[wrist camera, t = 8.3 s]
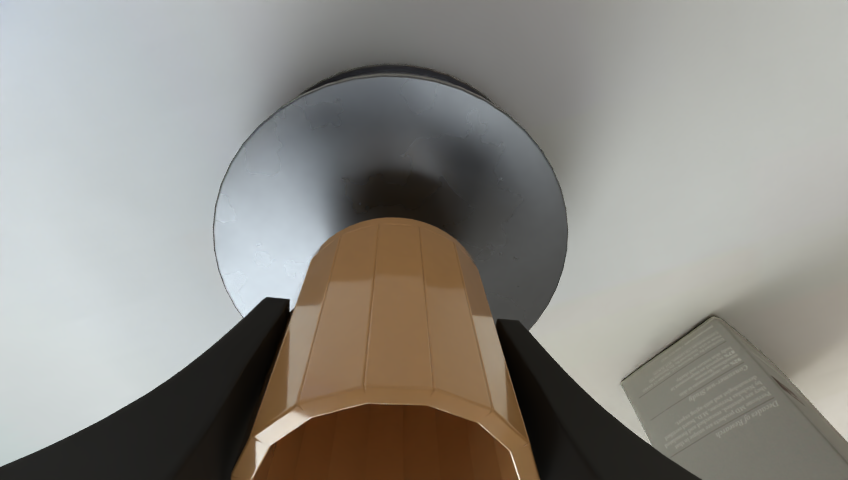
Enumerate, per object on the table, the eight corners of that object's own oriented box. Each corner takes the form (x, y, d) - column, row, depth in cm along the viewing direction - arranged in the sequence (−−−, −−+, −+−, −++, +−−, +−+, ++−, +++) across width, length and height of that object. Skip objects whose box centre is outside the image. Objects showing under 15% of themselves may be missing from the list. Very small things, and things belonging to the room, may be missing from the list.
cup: (263, 291, 14) (164, 495, 8) (402, 178, 12) (404, 328, 7) (385, 391, 16) (377, 609, 10) (516, 304, 14) (594, 502, 9)
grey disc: (183, 200, 19) (134, 244, 16) (411, -19, 16) (415, -26, 12) (384, 368, 24) (381, 431, 20) (590, 227, 21) (630, 273, 17)
